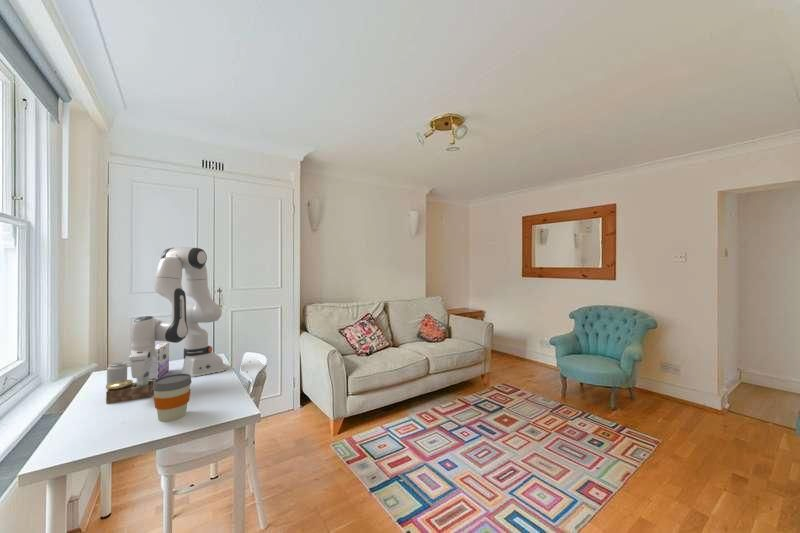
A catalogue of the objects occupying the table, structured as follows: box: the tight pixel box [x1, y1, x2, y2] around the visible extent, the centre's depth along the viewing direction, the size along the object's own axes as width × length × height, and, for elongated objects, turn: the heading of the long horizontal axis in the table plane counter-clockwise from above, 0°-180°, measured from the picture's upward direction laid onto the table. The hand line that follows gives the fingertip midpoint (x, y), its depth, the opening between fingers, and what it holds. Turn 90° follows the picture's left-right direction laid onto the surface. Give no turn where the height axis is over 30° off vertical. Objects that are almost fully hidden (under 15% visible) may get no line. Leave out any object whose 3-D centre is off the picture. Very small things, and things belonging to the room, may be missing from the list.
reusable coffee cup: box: [152, 373, 192, 423], centre depth 125 cm, size 13×13×15 cm
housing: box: [105, 379, 155, 405], centre depth 144 cm, size 16×9×5 cm, turn 118°
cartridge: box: [136, 372, 150, 387], centre depth 146 cm, size 5×5×10 cm
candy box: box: [148, 342, 170, 381], centre depth 173 cm, size 14×6×16 cm, turn 17°
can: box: [106, 361, 128, 385], centre depth 155 cm, size 8×8×12 cm
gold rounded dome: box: [105, 379, 134, 390], centre depth 142 cm, size 9×9×6 cm
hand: (142, 381), depth 146 cm, fingers closed on cartridge, 4 cm apart
